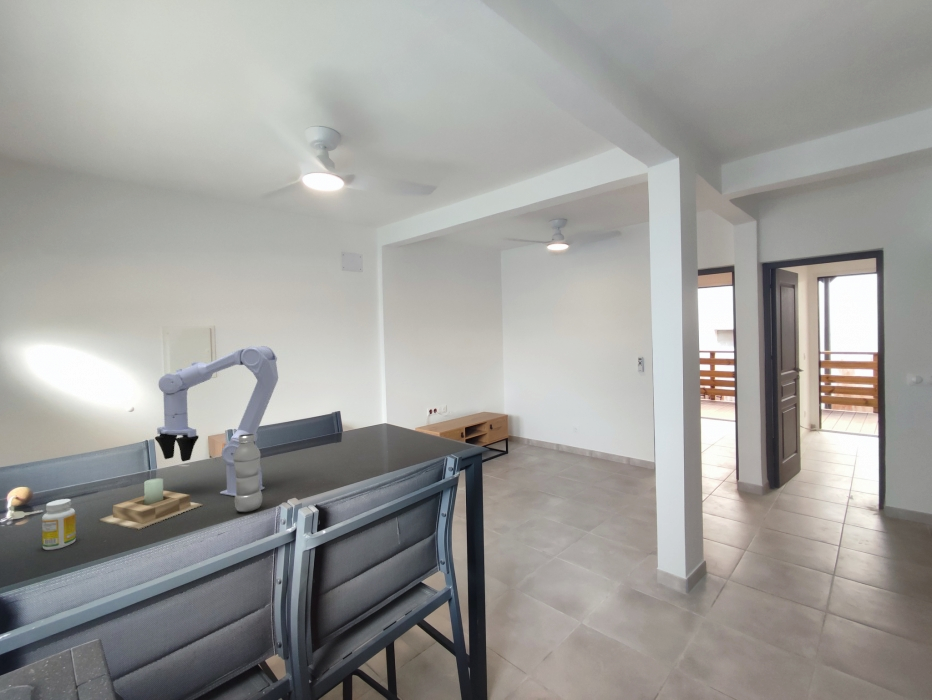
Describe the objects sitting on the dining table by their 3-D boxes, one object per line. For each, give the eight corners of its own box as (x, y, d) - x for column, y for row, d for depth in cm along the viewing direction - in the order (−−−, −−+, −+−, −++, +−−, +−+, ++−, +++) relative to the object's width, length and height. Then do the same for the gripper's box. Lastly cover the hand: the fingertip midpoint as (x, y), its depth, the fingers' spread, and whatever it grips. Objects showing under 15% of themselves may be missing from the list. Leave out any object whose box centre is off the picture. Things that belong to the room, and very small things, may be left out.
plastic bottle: (268, 506, 114) (266, 433, 114) (247, 516, 108) (245, 438, 108) (249, 504, 117) (247, 431, 116) (228, 513, 110) (226, 437, 110)
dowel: (167, 508, 114) (166, 478, 114) (152, 514, 110) (152, 483, 110) (155, 507, 115) (155, 478, 115) (140, 513, 111) (140, 482, 111)
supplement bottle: (44, 553, 91) (42, 508, 91) (41, 545, 94) (39, 502, 94) (78, 543, 95) (76, 501, 95) (74, 537, 98) (72, 495, 98)
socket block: (202, 505, 116) (202, 493, 116) (139, 530, 101) (138, 515, 101) (164, 498, 122) (164, 487, 122) (99, 520, 107) (98, 507, 107)
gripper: (145, 414, 125) (147, 460, 125) (178, 417, 119) (180, 465, 119) (170, 411, 131) (171, 454, 131) (202, 413, 126) (204, 458, 126)
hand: (177, 459), depth 126 cm, fingers open, 7 cm apart
